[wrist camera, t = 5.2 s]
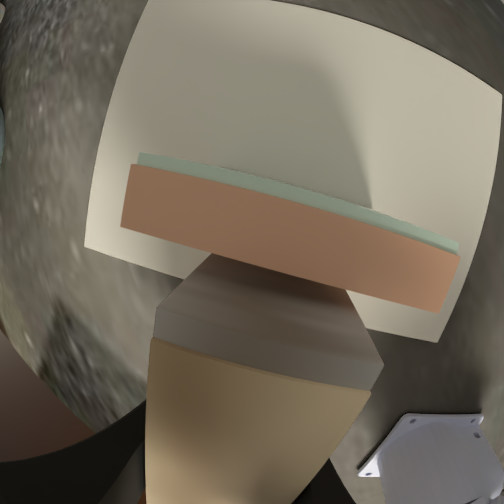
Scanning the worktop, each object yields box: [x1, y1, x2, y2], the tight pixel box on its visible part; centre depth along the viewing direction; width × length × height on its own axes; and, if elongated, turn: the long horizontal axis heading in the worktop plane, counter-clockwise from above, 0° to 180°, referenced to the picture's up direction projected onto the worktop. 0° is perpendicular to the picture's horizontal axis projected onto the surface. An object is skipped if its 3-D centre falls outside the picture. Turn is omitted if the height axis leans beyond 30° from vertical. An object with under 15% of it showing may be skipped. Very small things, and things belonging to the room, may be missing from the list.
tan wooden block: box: [145, 253, 384, 504], centre depth 8 cm, size 4×11×5 cm, turn 166°
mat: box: [84, 0, 502, 343], centre depth 13 cm, size 22×16×1 cm
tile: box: [120, 152, 461, 314], centre depth 10 cm, size 8×2×8 cm, turn 76°
